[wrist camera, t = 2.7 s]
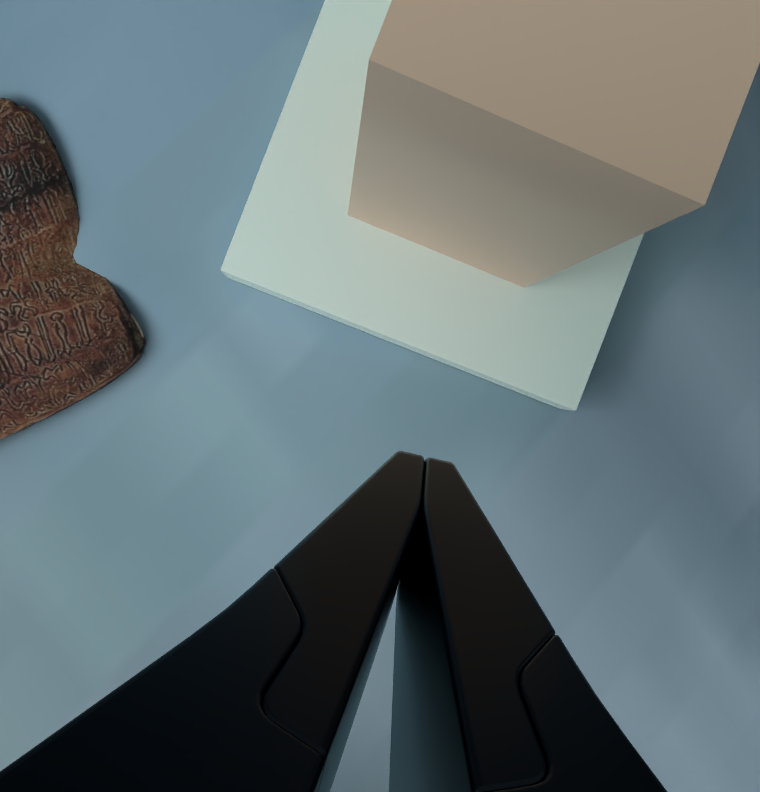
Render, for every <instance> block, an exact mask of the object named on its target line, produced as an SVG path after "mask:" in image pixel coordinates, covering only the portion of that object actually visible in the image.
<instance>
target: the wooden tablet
mask: <svg viewBox="0 0 760 792" xmlns="http://www.w3.org/2000/svg"><path fill="white" fill-rule="evenodd" d="M78 232H79V217H78V207H77V203H76V199H75V196H74V192H73V187H72V184H71V182H70V180H69V178H68V176H67V173H66V170H65V168H64V165H63V163H62V161H61V158H60V156H59V154H58V152H57V151H56V146H55V145H54V143H53V141H52V139H51V137H50V136H49V134H48V133H47V131H46V130H45V128H44V126H43V125H42V123H41V121H40V120H39V118H38V117H37V116H36V115H35V114H34V113H33V112H32V111H30V110H29V109H28V108H27V107H26V106H24V105H23V106H19V105H17V104H16V103H15V102H13V101H11V100H10V99H4V98H0V440H1V439H3V438H5V437H8V436H10V435H12V434H14V433H17V432H19V431H22V430H24V429H26V428H27V427H29V426H31V425H33V424H35V423H37V422H39V421H41V420H43V419H46V418H48V417H50V416H52V415H54V414H56V413H58V412H60V411H61V410H63V409H66V408H68V407H69V406H71V405H73V404H74V403H76V402H79V401H81V400H82V399H84V398H86V397H88V396H89V395H91V394H93V393H95V392H96V391H98V390H100V389H102V388H103V387H105V386H106V385H108V384H109V383H110V382H112V381H113V380H115V379H116V378H118V377H119V376H120V375H121V374H123V373H124V372H125V371H127V370H128V369H129V368H130V367H131V366H133V365H134V364H135V363H136V362H137V361H138V360H139V359H140V358H141V355H142V350H143V348H144V346H145V338H144V335H143V332H142V330H141V327H140V326H139V324H138V322H137V321H136V319H135V318H134V316H133V315H132V314H131V313H130V311H129V310H128V308H127V307H126V305H125V303H124V301H123V300H122V298H121V297H120V296H119V294H118V293H117V292H116V290H115V289H114V287H113V286H112V285H111V284H110V283H109V282H108V280H107V279H106V278H105V277H102V276H100V275H99V274H97V273H95V272H93V271H91V270H89V269H87V268H85V267H83V266H81V265H79V264H77V263H76V262H75V259H74V257H73V253H74V249H75V247H76V245H77V235H78Z"/></svg>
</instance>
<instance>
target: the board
mask: <svg viewBox="0 0 760 792" xmlns="http://www.w3.org/2000/svg"><path fill="white" fill-rule="evenodd" d="M391 1H392V0H325V2H324V4H323V7H322V10H321V12H320V15H319V17H318V20H317V22H316V25H315V28H314V30H313V33H312V35H311V38H310V40H309V43H308V46H307V48H306V51H305V53H304V56H303V59H302V61H301V64H300V66H299V69H298V71H297V74H296V77H295V79H294V82H293V84H292V87H291V89H290V92H289V95H288V97H287V100H286V102H285V105H284V107H283V110H282V113H281V115H280V118H279V120H278V123H277V125H276V128H275V131H274V133H273V136H272V138H271V141H270V144H269V146H268V149H267V151H266V154H265V156H264V159H263V162H262V164H261V167H260V169H259V172H258V174H257V177H256V180H255V182H254V185H253V187H252V190H251V192H250V195H249V198H248V200H247V203H246V205H245V208H244V210H243V213H242V216H241V218H240V221H239V223H238V226H237V229H236V231H235V234H234V236H233V239H232V241H231V244H230V247H229V249H228V252H227V254H226V257H225V259H224V262H223V265H222V267H221V271H222V272H223V273H224V274H225V275H226V276H227V277H228V278H230V279H233V280H235V281H238V282H240V283H243V284H245V285H248V286H250V287H253V288H255V289H258V290H260V291H263V292H265V293H268V294H270V295H273V296H276V297H278V298H281V299H283V300H286V301H288V302H291V303H293V304H296V305H298V306H301V307H303V308H306V309H308V310H311V311H313V312H316V313H319V314H321V315H324V316H326V317H329V318H331V319H334V320H336V321H339V322H341V323H344V324H346V325H349V326H351V327H354V328H357V329H359V330H362V331H364V332H367V333H369V334H372V335H374V336H377V337H379V338H382V339H384V340H387V341H389V342H392V343H394V344H397V345H400V346H402V347H405V348H407V349H410V350H412V351H415V352H417V353H420V354H422V355H425V356H427V357H430V358H432V359H435V360H437V361H440V362H443V363H445V364H448V365H450V366H453V367H455V368H458V369H460V370H463V371H465V372H468V373H470V374H473V375H475V376H478V377H481V378H483V379H486V380H488V381H491V382H493V383H496V384H498V385H501V386H503V387H506V388H508V389H511V390H513V391H516V392H518V393H521V394H524V395H526V396H529V397H531V398H534V399H536V400H539V401H541V402H544V403H546V404H549V405H551V406H554V407H556V408H559V409H566V410H573V411H576V409H577V407H578V404H579V402H580V399H581V396H582V394H583V391H584V389H585V386H586V383H587V381H588V378H589V376H590V373H591V371H592V368H593V365H594V363H595V360H596V358H597V355H598V352H599V350H600V347H601V345H602V342H603V339H604V337H605V334H606V332H607V329H608V326H609V324H610V321H611V319H612V316H613V313H614V311H615V308H616V306H617V303H618V300H619V298H620V295H621V293H622V290H623V287H624V285H625V282H626V280H627V277H628V274H629V272H630V269H631V267H632V264H633V261H634V259H635V256H636V254H637V251H638V248H639V246H640V243H641V241H642V238H643V235H644V233H643V234H641V235H639V236H637V237H634V238H632V239H630V240H628V241H626V242H623V243H621V244H619V245H617V246H615V247H612V248H610V249H608V250H606V251H604V252H601V253H599V254H597V255H595V256H593V257H591V258H588V259H586V260H584V261H582V262H580V263H577V264H575V265H573V266H571V267H569V268H566V269H564V270H562V271H560V272H558V273H555V274H553V275H551V276H549V277H547V278H544V279H542V280H540V281H538V282H536V283H533V284H531V285H529V286H527V287H525V288H524V287H521V286H519V285H517V284H514V283H512V282H509V281H507V280H504V279H502V278H499V277H497V276H495V275H492V274H490V273H487V272H485V271H482V270H480V269H478V268H475V267H473V266H470V265H468V264H465V263H463V262H461V261H458V260H456V259H453V258H451V257H448V256H446V255H443V254H441V253H439V252H436V251H434V250H431V249H429V248H426V247H424V246H422V245H419V244H417V243H414V242H412V241H409V240H407V239H405V238H402V237H400V236H397V235H395V234H392V233H390V232H387V231H385V230H383V229H380V228H378V227H375V226H373V225H370V224H368V223H366V222H363V221H361V220H358V219H356V218H353V217H351V216H348V208H349V201H350V194H351V186H352V179H353V172H354V165H355V157H356V150H357V143H358V135H359V128H360V121H361V114H362V106H363V99H364V92H365V84H366V77H367V70H368V63H369V58H370V56H371V53H372V50H373V48H374V45H375V43H376V40H377V37H378V35H379V32H380V30H381V27H382V25H383V22H384V19H385V17H386V14H387V12H388V9H389V6H390V4H391Z"/></svg>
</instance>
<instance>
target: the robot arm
mask: <svg viewBox="0 0 760 792" xmlns="http://www.w3.org/2000/svg"><path fill="white" fill-rule="evenodd" d="M397 587H398V590H397ZM396 590H397V602H396V622H395V648H394V674H393V700H392V726H391V752H390V778H389V792H667V791H666V789H665V788H664V787H663V785H662V784H661V783H660V781H659V780H658V779H657V777H656V776H655V775H654V773H653V772H652V771H651V769H650V768H649V767H648V765H647V764H646V763H645V761H644V760H643V759H642V757H641V756H640V755H639V753H638V752H637V751H636V749H635V748H634V747H633V745H632V744H631V743H630V741H629V740H628V739H627V737H626V736H625V735H624V733H623V732H622V730H621V729H620V728H619V726H618V725H617V723H616V722H615V721H614V719H613V718H612V716H611V715H610V714H609V712H608V711H607V709H606V708H605V707H604V705H603V704H602V702H601V701H600V700H599V698H598V697H597V695H596V694H595V692H594V691H593V689H592V688H591V686H590V685H589V683H588V681H587V680H586V678H585V677H584V675H583V674H582V672H581V671H580V669H579V667H578V666H577V664H576V663H575V661H574V660H573V658H572V657H571V655H570V653H569V652H568V650H567V648H566V647H565V645H564V643H563V642H562V640H561V638H560V637H559V636H558V635H555V630H554V629H553V627H552V625H551V624H550V622H549V620H548V619H547V617H546V615H545V614H544V612H543V610H542V609H541V607H540V605H539V604H538V602H537V601H536V599H535V597H534V596H533V594H532V592H531V591H530V589H529V587H528V586H527V584H526V582H525V581H524V579H523V577H522V576H521V574H520V573H519V571H518V569H517V568H516V566H515V564H514V563H513V561H512V559H511V558H510V556H509V554H508V553H507V551H506V549H505V548H504V546H503V544H502V543H501V541H500V540H499V538H498V536H497V535H496V533H495V531H494V530H493V528H492V526H491V525H490V523H489V521H488V520H487V518H486V516H485V515H484V513H483V511H482V510H481V508H480V507H479V505H478V503H477V502H476V500H475V498H474V497H473V495H472V493H471V492H470V490H469V488H468V487H467V485H466V483H465V482H464V480H463V478H462V477H461V475H460V474H459V472H458V470H457V469H456V467H455V466H454V464H452V463H451V462H447V461H443V460H438V459H434V458H427V459H426V460H424V458H423V457H422V456H421V455H416V454H412V453H408V452H403V451H398V452H396V453H395V454H394V455H393V456H392V457H391V458H390V459H389V460H388V461H387V462H385V463H384V464H383V465H382V466H381V467H380V468H379V469H378V470H377V471H376V472H375V473H374V474H373V475H372V476H370V477H369V478H368V479H367V480H366V481H365V482H364V483H363V484H362V485H361V486H360V487H359V488H358V489H357V490H356V491H354V492H353V493H352V494H351V495H350V496H349V497H348V498H347V499H346V500H345V501H344V502H343V503H342V504H341V505H339V506H338V507H337V508H336V509H335V510H334V511H333V512H332V513H331V514H330V515H329V516H328V517H327V518H326V519H325V520H323V521H322V522H321V523H320V524H319V525H318V526H317V527H316V528H315V529H314V530H313V531H312V532H311V533H310V534H308V535H307V536H306V537H305V538H304V539H303V540H302V541H301V542H300V543H299V544H298V545H297V546H296V547H295V548H294V549H292V550H291V551H290V552H289V553H288V554H287V555H286V556H285V557H284V558H283V559H282V560H281V561H280V562H279V563H277V564H276V565H275V567H274V569H270V570H269V571H268V572H267V573H266V574H265V575H264V576H263V577H261V578H260V579H259V580H258V581H257V582H256V583H255V584H254V585H253V586H252V587H251V588H249V589H248V590H247V591H246V592H245V593H244V594H243V595H241V596H240V597H239V598H238V599H237V600H236V601H234V602H233V603H232V604H231V605H230V606H229V607H228V608H226V609H225V610H224V611H223V612H221V613H220V614H219V615H217V616H216V617H215V618H213V619H212V620H211V621H209V622H208V623H207V624H205V625H204V626H203V627H201V628H200V629H199V630H197V631H196V632H195V633H194V634H192V635H191V636H189V637H188V638H187V639H185V640H184V641H182V642H181V643H180V644H178V645H177V646H175V647H174V648H173V649H171V650H170V651H168V652H167V653H166V654H164V655H163V656H161V657H160V658H159V659H157V660H156V661H154V662H153V663H152V664H150V665H149V666H147V667H146V668H145V669H143V670H142V671H140V672H139V673H138V674H136V675H135V676H133V677H132V678H131V679H129V680H128V681H126V682H125V683H124V684H122V685H121V686H119V687H118V688H117V689H115V690H114V691H112V692H111V693H110V694H108V695H107V696H105V697H104V698H103V699H101V700H100V701H98V702H97V703H96V704H94V705H93V706H91V707H90V708H89V709H87V710H86V711H84V712H83V713H82V714H80V715H79V716H77V717H76V718H75V719H73V720H72V721H70V722H69V723H68V724H66V725H65V726H63V727H62V728H61V729H59V730H58V731H56V732H55V733H54V734H52V735H51V736H49V737H48V738H47V739H45V740H44V741H42V742H41V743H40V744H38V745H37V746H35V747H34V748H33V749H31V750H30V751H28V752H27V753H26V754H24V755H23V756H21V757H20V758H19V759H17V760H16V761H14V762H13V763H11V764H10V765H9V766H7V767H6V768H4V769H3V770H2V771H0V792H330V789H331V786H332V783H333V780H334V777H335V774H336V771H337V768H338V765H339V762H340V759H341V756H342V753H343V750H344V747H345V744H346V741H347V739H348V736H349V733H350V730H351V727H352V724H353V721H354V718H355V715H356V712H357V709H358V706H359V703H360V700H361V697H362V694H363V691H364V688H365V685H366V682H367V679H368V676H369V673H370V670H371V667H372V664H373V661H374V658H375V655H376V652H377V649H378V646H379V643H380V640H381V637H382V634H383V631H384V628H385V625H386V622H387V619H388V616H389V613H390V610H391V607H392V604H393V600H394V597H395V593H396Z"/></svg>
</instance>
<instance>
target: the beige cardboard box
mask: <svg viewBox="0 0 760 792" xmlns="http://www.w3.org/2000/svg"><path fill="white" fill-rule="evenodd" d="M759 63H760V0H392V1H391V4H390V6H389V9H388V12H387V14H386V17H385V19H384V22H383V25H382V27H381V30H380V32H379V35H378V37H377V40H376V43H375V45H374V48H373V50H372V53H371V56H370V58H369V63H368V70H367V77H366V84H365V92H364V99H363V106H362V114H361V121H360V128H359V135H358V143H357V150H356V157H355V165H354V172H353V179H352V186H351V194H350V201H349V208H348V216H351V217H353V218H356V219H358V220H361V221H363V222H366V223H368V224H370V225H373V226H375V227H378V228H380V229H383V230H385V231H387V232H390V233H392V234H395V235H397V236H400V237H402V238H405V239H407V240H409V241H412V242H414V243H417V244H419V245H422V246H424V247H426V248H429V249H431V250H434V251H436V252H439V253H441V254H443V255H446V256H448V257H451V258H453V259H456V260H458V261H461V262H463V263H465V264H468V265H470V266H473V267H475V268H478V269H480V270H482V271H485V272H487V273H490V274H492V275H495V276H497V277H499V278H502V279H504V280H507V281H509V282H512V283H514V284H517V285H519V286H521V287H524V288H525V287H527V286H529V285H531V284H533V283H536V282H538V281H540V280H542V279H544V278H547V277H549V276H551V275H553V274H555V273H558V272H560V271H562V270H564V269H566V268H569V267H571V266H573V265H575V264H577V263H580V262H582V261H584V260H586V259H588V258H591V257H593V256H595V255H597V254H599V253H601V252H604V251H606V250H608V249H610V248H612V247H615V246H617V245H619V244H621V243H623V242H626V241H628V240H630V239H632V238H634V237H637V236H639V235H641V234H643V233H645V232H648V231H650V230H652V229H654V228H656V227H658V226H661V225H663V224H665V223H667V222H669V221H672V220H674V219H676V218H678V217H680V216H683V215H685V214H687V213H689V212H691V211H694V210H696V209H698V208H700V207H702V206H705V204H706V201H707V199H708V196H709V193H710V191H711V188H712V186H713V183H714V180H715V178H716V175H717V173H718V170H719V167H720V165H721V162H722V160H723V157H724V154H725V152H726V149H727V147H728V144H729V141H730V139H731V136H732V133H733V131H734V128H735V126H736V123H737V120H738V118H739V115H740V113H741V110H742V107H743V105H744V102H745V100H746V97H747V94H748V92H749V89H750V87H751V84H752V81H753V79H754V76H755V74H756V71H757V68H758V66H759Z"/></svg>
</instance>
